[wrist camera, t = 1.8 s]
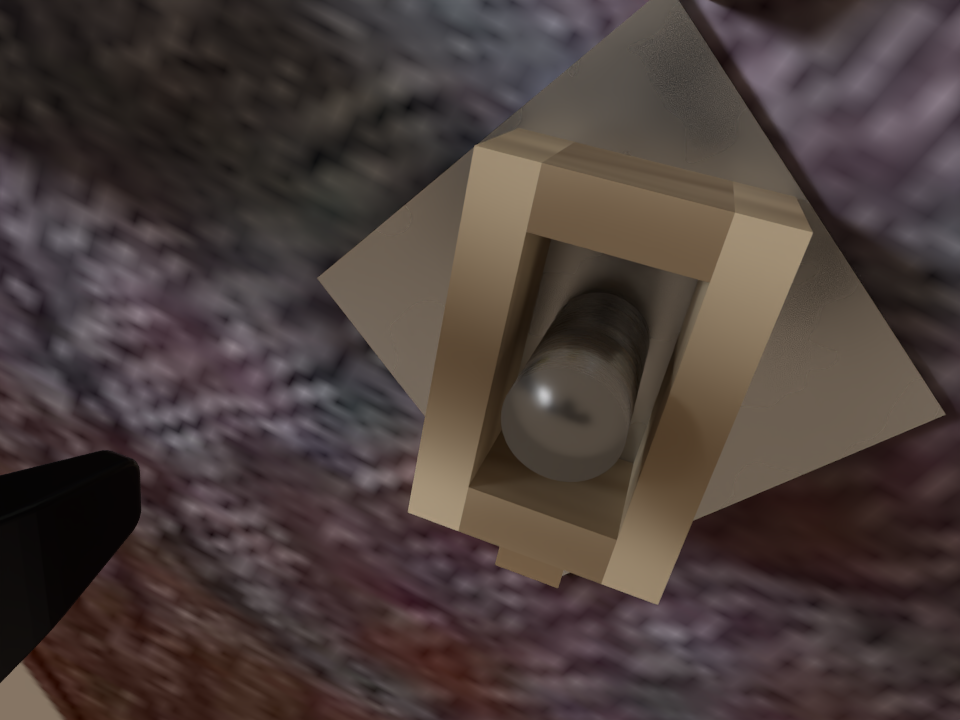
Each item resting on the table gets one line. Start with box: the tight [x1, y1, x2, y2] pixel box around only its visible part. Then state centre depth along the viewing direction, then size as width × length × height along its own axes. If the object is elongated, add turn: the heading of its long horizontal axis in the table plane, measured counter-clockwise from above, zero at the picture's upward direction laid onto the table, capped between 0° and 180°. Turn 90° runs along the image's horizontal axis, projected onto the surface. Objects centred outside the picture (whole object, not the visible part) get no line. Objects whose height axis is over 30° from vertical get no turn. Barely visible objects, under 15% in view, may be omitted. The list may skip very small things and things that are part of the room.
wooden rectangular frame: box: [408, 128, 813, 605], centre depth 15 cm, size 10×6×3 cm, turn 169°
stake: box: [317, 0, 946, 576], centre depth 14 cm, size 10×10×5 cm
